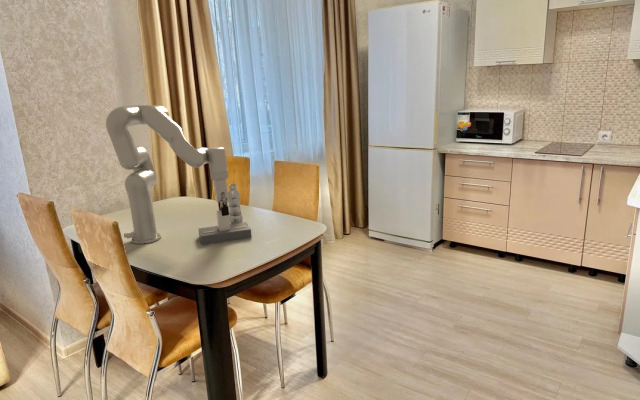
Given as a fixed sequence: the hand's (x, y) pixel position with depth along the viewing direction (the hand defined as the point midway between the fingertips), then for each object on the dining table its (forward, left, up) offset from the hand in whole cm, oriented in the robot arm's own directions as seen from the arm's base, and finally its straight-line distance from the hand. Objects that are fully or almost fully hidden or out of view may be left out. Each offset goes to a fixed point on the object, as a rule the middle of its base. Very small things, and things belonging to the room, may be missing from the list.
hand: (224, 212), depth 199 cm
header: (-1, 0, -12) cm, 12 cm away
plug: (-1, 0, -12) cm, 12 cm away
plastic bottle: (+7, +18, -12) cm, 23 cm away
